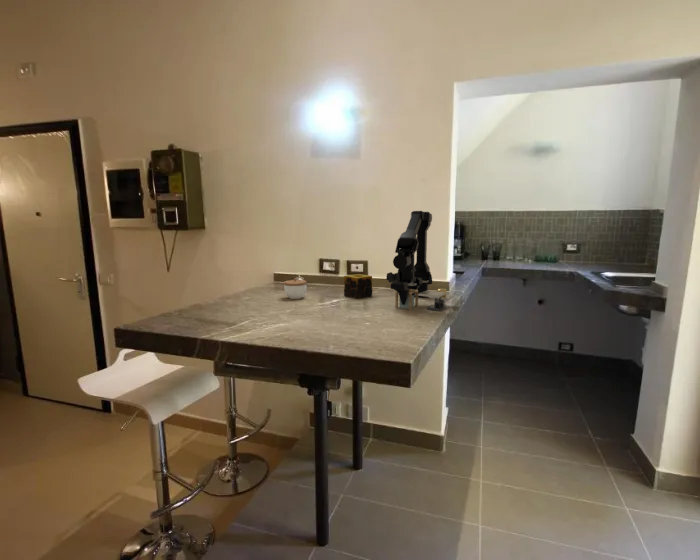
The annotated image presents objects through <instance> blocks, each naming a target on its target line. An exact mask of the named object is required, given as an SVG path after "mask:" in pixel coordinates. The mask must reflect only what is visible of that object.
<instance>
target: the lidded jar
mask: <svg viewBox="0 0 700 560" xmlns="http://www.w3.org/2000/svg"><path fill="white" fill-rule="evenodd" d="M283 285H284V286H283V287H284V292H285V294H286V296H287V297H288V299H289V300H290V299H291V300H300V299H302V298H303V297H304V296H305V294H306V292H307V289H308V288H307V285H308V283H307V280H304V279H297V277H294V278H293V279H291V280H286V281H283Z"/></svg>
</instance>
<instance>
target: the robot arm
mask: <svg viewBox="0 0 700 560" xmlns="http://www.w3.org/2000/svg"><path fill="white" fill-rule="evenodd" d="M432 221H433V214H432V213H431V212H429V211H422V210H413V211H411V213H410V219H409V221H408V224H407V226H406V230H405V231H404V232H402V233H401V234H400V236H399V238H398V239H397V242H396V243H397V244H396V247H395V251H394V252H395V253H396V254H397V255H395V256H394V257H393V260H392V264H393V266H394V268H396V269H397V272H395V273H393V272H392V271H391V272H387V273H386V278H385V279H386V281H388V283H389V284H390V289H391V290H394V291H395V292H396V291H397V292H398V297H399V300H401V303H402V305H405V302H406V299H407V296H408V295H409V294H408V293H409V290H410V289H414V290H418V294H419V293H421V292H424V291H426V290H427V291H429V285H433V276H432V272H431V269H430V266H429V264H428V263H427V243H428V239H427V237H428V230H429V229H430V227H431V225H432ZM415 253H416V263H415ZM412 295H414V297H415V295H416V292H415V293H412ZM418 298H427V296H418Z"/></svg>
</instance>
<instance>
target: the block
mask: <svg viewBox="0 0 700 560" xmlns="http://www.w3.org/2000/svg"><path fill="white" fill-rule="evenodd" d="M398 307H399V308H401V309H406V310H407V309H408V310H410V309H409V295H408V296H407V299H406V302H405V305H402V303H401V300H400V299H398ZM414 307H415V296H414V295H412V308H414Z"/></svg>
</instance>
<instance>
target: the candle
mask: <svg viewBox="0 0 700 560" xmlns="http://www.w3.org/2000/svg"><path fill="white" fill-rule="evenodd" d="M343 279H344V282H343V283H344V287H343V292H344V293H343V296H344V297H348V298H353V299H357V300H358V299H363V298H370V297H373V276H372V275H367V274H360V273H358V274H349V275H344V276H343Z"/></svg>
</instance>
